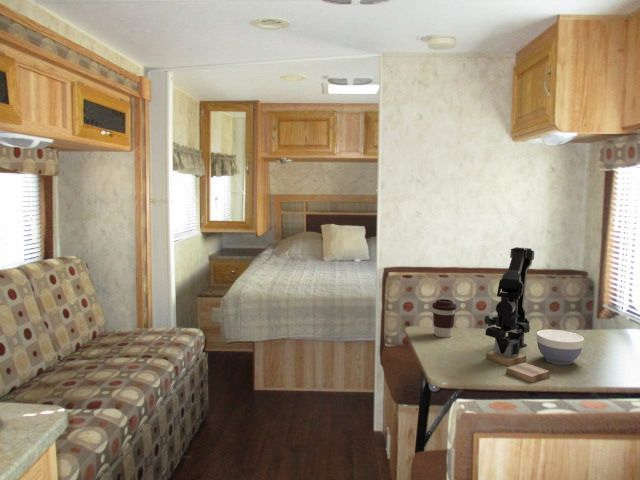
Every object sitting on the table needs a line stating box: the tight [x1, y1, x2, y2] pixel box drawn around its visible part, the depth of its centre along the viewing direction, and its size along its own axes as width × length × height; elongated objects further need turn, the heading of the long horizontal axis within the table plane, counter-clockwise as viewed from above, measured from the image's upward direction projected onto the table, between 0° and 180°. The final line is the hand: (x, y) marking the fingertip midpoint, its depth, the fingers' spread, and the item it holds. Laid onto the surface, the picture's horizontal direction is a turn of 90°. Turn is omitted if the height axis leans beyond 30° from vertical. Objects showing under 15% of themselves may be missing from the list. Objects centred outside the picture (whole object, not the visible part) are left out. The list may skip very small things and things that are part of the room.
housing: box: [493, 335, 520, 358], centre depth 205 cm, size 5×7×6 cm
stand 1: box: [485, 350, 527, 367], centre depth 205 cm, size 10×10×2 cm
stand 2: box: [505, 362, 550, 384], centre depth 190 cm, size 10×10×2 cm
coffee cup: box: [431, 298, 458, 338], centre depth 234 cm, size 10×10×15 cm
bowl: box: [536, 329, 585, 366], centre depth 205 cm, size 16×16×10 cm
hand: (506, 352), depth 205 cm, fingers closed on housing, 5 cm apart
